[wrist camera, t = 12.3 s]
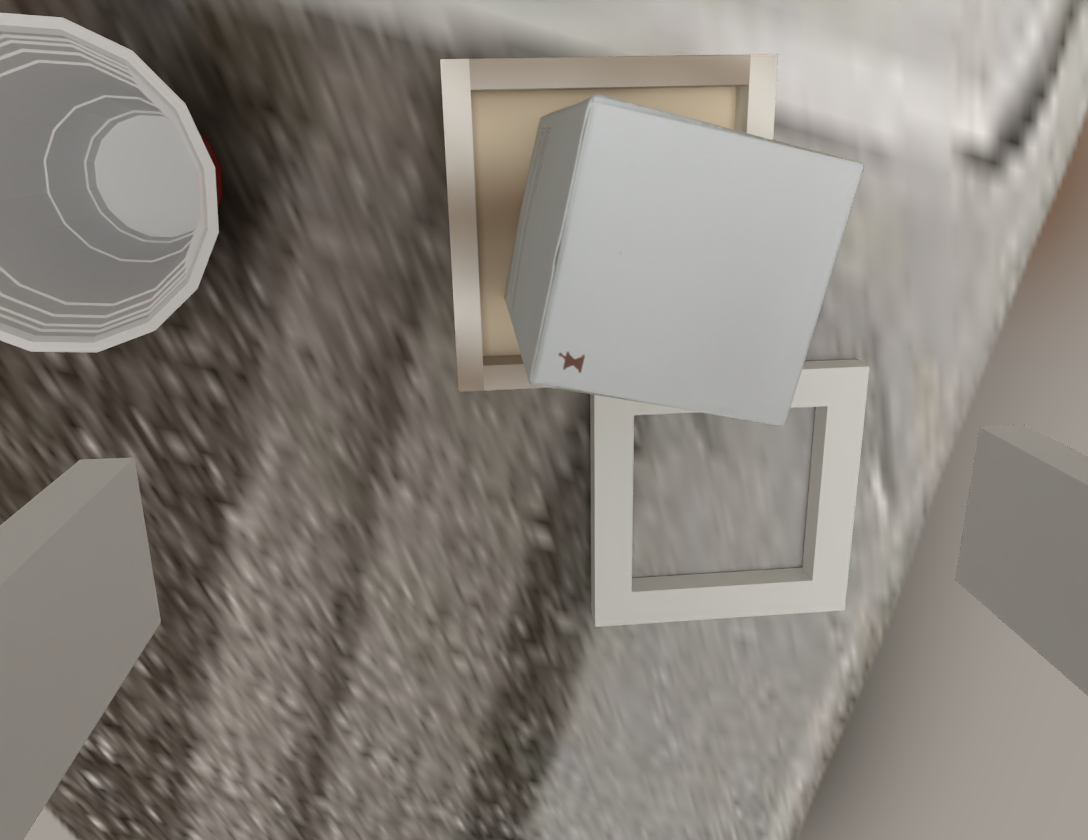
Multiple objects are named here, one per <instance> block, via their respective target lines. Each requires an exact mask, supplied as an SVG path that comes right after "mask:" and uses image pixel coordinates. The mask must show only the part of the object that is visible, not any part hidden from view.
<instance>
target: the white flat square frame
mask: <svg viewBox="0 0 1088 840" xmlns="http://www.w3.org/2000/svg"><path fill="white" fill-rule="evenodd" d="M869 367H870V366H868V365H866V364H864V363H863V362H861V361H859V360H857V359H848V360H825V361H805V362H804V365H803V369H802V372H801V375H800V378H799V381H798V384H797V388H796V391H795V394H794V397H793V401H792V404H791V407H790V408H799V407H816V408H815V420H814V432H813V444H812V456H811V468H810V480H809V492H808V504H807V516H806V529H805V541H804V553H803V565H802V567H801V568H785V569H769V570H753V571H738V572H722V573H706V574H690V575H674V576H658V577H642V578H632V536H633V456H634V415H654V414H675V413H695V412H696V411H690V410H684V409H679V408H673V407H667V406H660V405H654V404H648V403H642V402H636V401H629V400H623V399H617V398H611V397H604V396H598V395H592V394H590V462H591V614H592V617H593V621H594V625H595V627H602V626H617V625H632V624H647V623H662V622H677V621H691V620H706V619H721V618H736V617H751V616H766V615H781V614H796V613H811V612H826V611H841V610H845V602H846V592H847V582H848V573H849V563H850V553H851V543H852V533H853V524H854V514H855V504H856V494H857V485H858V475H859V465H860V455H861V445H862V436H863V426H864V416H865V406H866V396H867V387H868V377H869Z"/></svg>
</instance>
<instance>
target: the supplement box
mask: <svg viewBox="0 0 1088 840" xmlns="http://www.w3.org/2000/svg"><path fill="white" fill-rule="evenodd" d="M863 170H864V165H863V163H860V162H855V161H851V160H847V159H844V158H840V157H836V156H832V155H828V154H824V153H820V152H817V151H813V150H809V149H805V148H801V147H797V146H794V145H790V144H786V143H782V142H778V141H775V140H771V139H767V138H763V137H760V136H756V135H752V134H748V133H744V132H741V131H737V130H733V129H729V128H726V127H722V126H718V125H714V124H711V123H707V122H703V121H699V120H695V119H692V118H688V117H684V116H680V115H677V114H673V113H669V112H665V111H661V110H657V109H654V108H650V107H646V106H642V105H638V104H634V103H631V102H627V101H623V100H619V99H615V98H611V97H607V96H603V95H599V94H596V95H593V96H591V97H589V98H588V99H586V100H584V101H582V102H580V103H577V104H574V105H572V106H568V107H566V108H563V109H560V110H557V111H554V112H552V113H550V114H548V115H546V116H543V117H541V119H540V122H539V126H538V130H537V135H536V139H535V144H534V148H533V152H532V157H531V162H530V167H529V172H528V177H527V182H526V186H525V191H524V196H523V201H522V205H521V210H520V215H519V221H518V226H517V232H516V237H515V242H514V248H513V253H512V259H511V264H510V269H509V275H508V280H507V286H506V291H505V296H504V299H505V301H506V304H507V308H508V311H509V315H510V318H511V322H512V325H513V328H514V332H515V335H516V339H517V342H518V346H519V349H520V353H521V356H522V360H523V364H524V367H525V371H526V374H527V377H528V380H529V383H530V384H531V385H535V386H542V387H549V388H555V389H561V390H567V391H574V392H580V393H586V394H592V395H598V396H604V397H611V398H617V399H623V400H629V401H636V402H642V403H648V404H654V405H660V406H667V407H673V408H679V409H684V410H690V411H696V412H701V413H707V414H713V415H718V416H724V417H729V418H734V419H741V420H746V421H751V422H757V423H763V424H769V425H775V426H783V425H784V424H785V423H786V420H787V417H788V414H789V411H790V407H791V404H792V401H793V397H794V394H795V391H796V388H797V384H798V381H799V378H800V375H801V372H802V369H803V365H804V362H805V359H806V356H807V352H808V349H809V346H810V343H811V339H812V336H813V333H814V330H815V326H816V323H817V320H818V316H819V313H820V310H821V307H822V303H823V300H824V297H825V293H826V290H827V287H828V284H829V280H830V277H831V274H832V271H833V267H834V264H835V261H836V257H837V254H838V251H839V248H840V244H841V241H842V238H843V234H844V231H845V228H846V224H847V221H848V218H849V215H850V211H851V208H852V205H853V201H854V198H855V195H856V192H857V188H858V185H859V182H860V179H861V176H862V173H863Z"/></svg>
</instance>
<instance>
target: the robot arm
mask: <svg viewBox="0 0 1088 840" xmlns="http://www.w3.org/2000/svg"><path fill="white" fill-rule="evenodd" d="M955 580H956V581H957V582H958V583H959V584H960V585H962V586H963V587H964V588H965V589H966V590H967V591H968V592H970V593H971V594H972V595H973V596H974V597H976V599H978V600H979V601H980V602H981V603H982V604H983V605H984V606H986V607H987V608H988V609H989V610H990V611H991V612H993V613H994V614H995V615H996V616H997V617H998V618H999V619H1000V620H1002V621H1003V622H1004V623H1005V624H1006V625H1007V626H1008V627H1010V628H1011V629H1012V630H1013V631H1014V632H1015V633H1016V634H1018V635H1019V636H1020V637H1021V638H1022V639H1023V640H1025V641H1026V642H1027V643H1028V644H1029V645H1030V646H1031V647H1033V648H1034V649H1035V650H1036V651H1037V652H1038V653H1039V654H1040V655H1042V656H1043V657H1044V658H1045V659H1046V660H1047V661H1049V662H1050V663H1051V664H1052V665H1053V666H1054V667H1055V668H1057V669H1058V670H1059V671H1060V672H1061V673H1062V674H1063V675H1065V676H1066V677H1067V678H1068V679H1069V680H1070V681H1072V682H1073V683H1074V684H1075V685H1076V686H1077V687H1079V689H1081V690H1082V691H1083V692H1084V693H1085V694H1086V695H1087V696H1088V456H1086V455H1084V454H1082V453H1080V452H1077V451H1076V450H1074V449H1072V448H1070V447H1068V446H1066V445H1064V444H1062V443H1060V442H1057V441H1056V440H1054V439H1051V438H1049V437H1047V436H1045V435H1043V434H1041V433H1039V432H1037V431H1035V430H1033V429H1031V428H1029V427H1027V426H1025V425H1011V426H984V427H979V431H978V437H977V444H976V450H975V456H974V463H973V470H972V476H971V483H970V489H969V495H968V502H967V509H966V514H965V521H964V528H963V534H962V540H961V547H960V553H959V560H958V566H957V573H956V579H955ZM160 622H161V620H160V614H159V607H158V601H157V595H156V589H155V583H154V576H153V570H152V564H151V558H150V552H149V545H148V539H147V533H146V527H145V521H144V514H143V508H142V502H141V496H140V489H139V483H138V477H137V471H136V465H135V458H110V459H83V460H79V461H78V462H77V463H76V464H74V465H73V466H72V467H71V468H70V469H68V470H67V471H66V472H65V473H63V474H62V475H61V476H60V477H59V478H57V479H56V480H55V481H54V482H53V483H51V484H50V485H49V486H48V487H46V488H45V489H44V490H43V491H42V492H40V493H39V494H38V495H37V496H35V497H34V498H33V499H32V500H31V501H29V502H28V503H27V504H26V505H25V506H23V507H22V508H21V509H20V510H18V511H17V512H16V513H15V514H14V515H12V516H11V517H10V518H9V519H7V520H6V521H5V522H4V523H3V524H1V525H0V840H23V839H24V838H25V836H26V834H27V833H28V831H29V830H30V828H31V827H32V825H33V824H34V822H35V820H36V819H37V817H38V816H39V814H40V812H41V811H42V809H43V808H44V806H45V805H46V803H47V801H48V800H49V798H50V797H51V795H52V793H53V792H54V790H55V789H56V787H57V786H58V784H59V782H60V781H61V779H62V778H63V776H64V774H65V773H66V771H67V770H68V768H69V767H70V765H71V763H72V762H73V760H74V759H75V757H76V755H77V754H78V752H79V751H80V749H81V748H82V746H83V744H84V743H85V741H86V740H87V738H88V736H89V735H90V733H91V732H92V730H93V729H94V727H95V725H96V724H97V722H98V721H99V719H100V717H101V716H102V714H103V713H104V711H105V710H106V708H107V706H108V705H109V703H110V702H111V700H112V698H113V697H114V695H115V694H116V692H117V691H118V689H119V687H120V686H121V684H122V683H123V681H124V679H125V678H126V676H127V675H128V673H129V672H130V670H131V668H132V667H133V665H134V664H135V662H136V660H137V659H138V657H139V656H140V654H141V653H142V651H143V649H144V648H145V646H146V645H147V643H148V641H149V640H150V638H151V637H152V635H153V634H154V632H155V630H156V629H157V627H158V626H159V624H160Z"/></svg>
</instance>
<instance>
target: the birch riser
mask: <svg viewBox="0 0 1088 840" xmlns="http://www.w3.org/2000/svg"><path fill="white" fill-rule="evenodd" d="M440 65H441V83H442V101H443V120H444V138H445V156H446V174H447V192H448V210H449V228H450V247H451V265H452V283H453V301H454V319H455V337H456V355H457V374H458V392H463V391H485V390H507V389H530V388H549V387H542V386H535V385H531V384H530V383H529V380H528V377H527V374H526V371H525V367H524V364H523V360H522V356H521V353H520V349H519V346H518V342H517V339H516V335H515V332H514V328H513V325H512V322H511V318H510V315H509V311H508V308H507V304H506V301H505V299H504V296H505V291H506V286H507V280H508V275H509V269H510V264H511V259H512V253H513V248H514V242H515V237H516V232H517V226H518V221H519V215H520V210H521V205H522V201H523V196H524V191H525V186H526V182H527V177H528V172H529V167H530V162H531V157H532V152H533V148H534V144H535V139H536V135H537V130H538V126H539V122H540V119H541V117H543V116H546V115H548V114H550V113H552V112H554V111H557V110H560V109H563V108H566V107H568V106H572V105H574V104H577V103H580V102H582V101H584V100H586V99H588V98H589V97H591V96H593V95H596V94H599V95H603V96H607V97H611V98H615V99H619V100H623V101H627V102H631V103H634V104H638V105H642V106H646V107H650V108H654V109H657V110H661V111H665V112H669V113H673V114H677V115H680V116H684V117H688V118H692V119H695V120H699V121H703V122H707V123H711V124H714V125H718V126H722V127H726V128H729V129H733V130H737V131H741V132H744V133H748V134H752V135H756V136H760V137H763V138H767V139H771V140H773V132H774V115H775V99H776V82H777V65H778V54H750V55H686V56H622V57H558V58H494V59H440Z"/></svg>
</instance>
